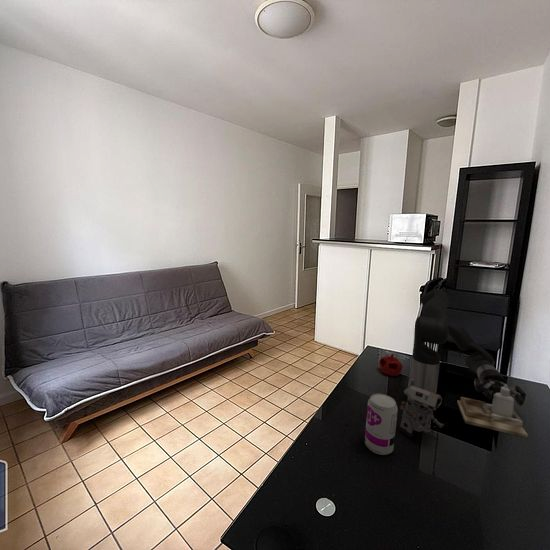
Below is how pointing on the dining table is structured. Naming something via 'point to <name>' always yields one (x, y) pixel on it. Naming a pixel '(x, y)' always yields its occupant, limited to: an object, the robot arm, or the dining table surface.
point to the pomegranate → (390, 365)
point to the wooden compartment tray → (489, 417)
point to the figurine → (419, 410)
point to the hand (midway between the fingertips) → (505, 399)
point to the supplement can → (381, 424)
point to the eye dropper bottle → (503, 403)
